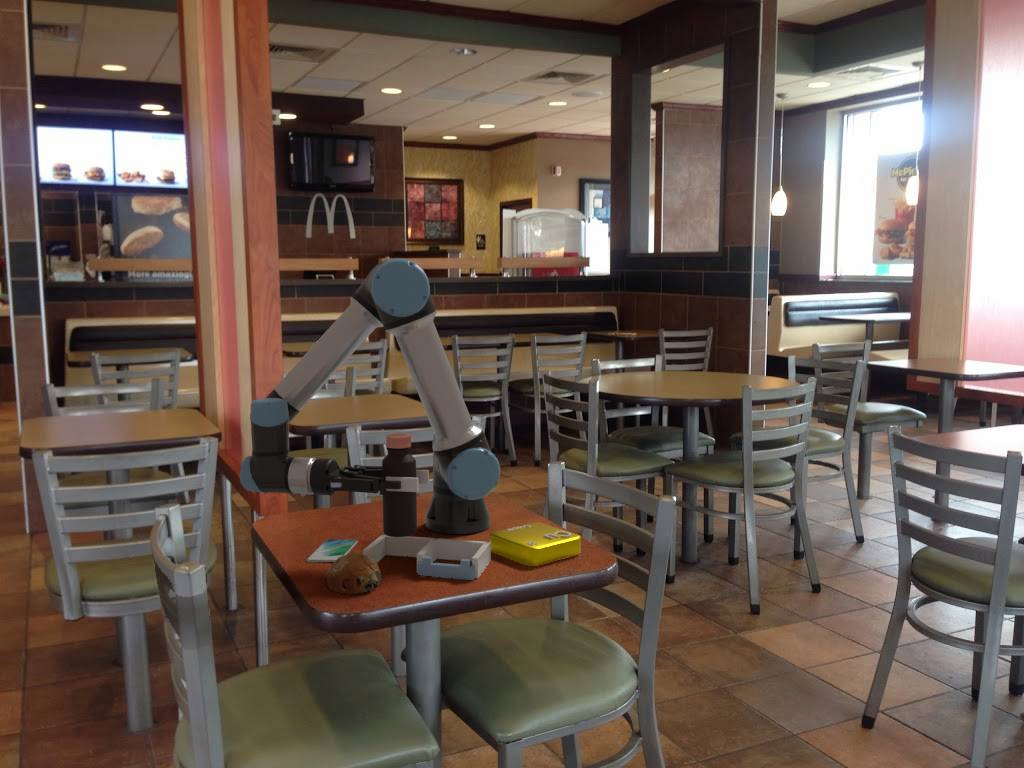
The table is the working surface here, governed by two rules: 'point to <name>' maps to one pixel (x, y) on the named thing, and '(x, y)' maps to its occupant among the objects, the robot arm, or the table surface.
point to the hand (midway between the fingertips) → (423, 480)
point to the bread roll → (354, 574)
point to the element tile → (535, 543)
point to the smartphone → (332, 550)
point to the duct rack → (435, 555)
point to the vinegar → (399, 503)
